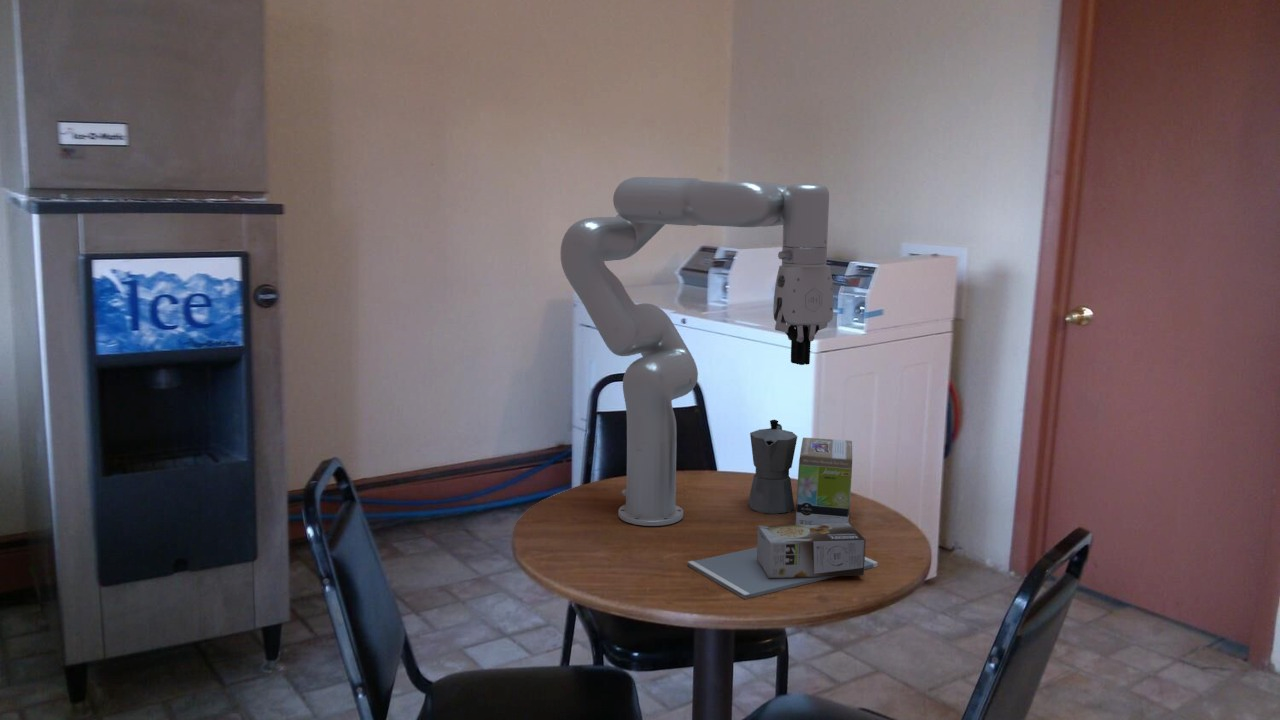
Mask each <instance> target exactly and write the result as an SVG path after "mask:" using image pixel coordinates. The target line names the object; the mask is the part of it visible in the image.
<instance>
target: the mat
mask: <svg viewBox="0 0 1280 720" xmlns="http://www.w3.org/2000/svg"><path fill="white" fill-rule="evenodd" d="M878 564H879V563H878V561H875V560H873V559H871V558H868V557H866V556H865V562H864V571H865V570H869V569H872V568H877V567H878ZM687 567H689V568H691V569H693V570H695V571H696V572H697V573H699V574H701V575H703V576H704V577H706V578H708V579H710V580H711V581H713V582H714V583H716V584H718V585H719V586H721V587H723V588H725V589H727V590H728V591H730V592H731V593H733V594H736V595H737V596H738V597H740V598H742V599H743V600H748V599H751V598H755V597H759V596H763V595H767V594H771V593H775V592H780V591H784V590H787V589H791V588H792V589H793V588H796V587H799V586H805V585H808V584H812V583H816V582H819V581H824V580H829V579H831V578H835V577H838V576H821V577H790V578H768V576H767V574H766V573H765V571H764V570H763V568H762V566H761V565H760V563H759V562H758V560H757V546H756V547H753V548H748V549H742V550H739V551H733V552H730V553H725V554H720V555H715V556H712V557H711V556H710V557H706V558H700V559H697V560H689V561H687Z"/></svg>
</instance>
